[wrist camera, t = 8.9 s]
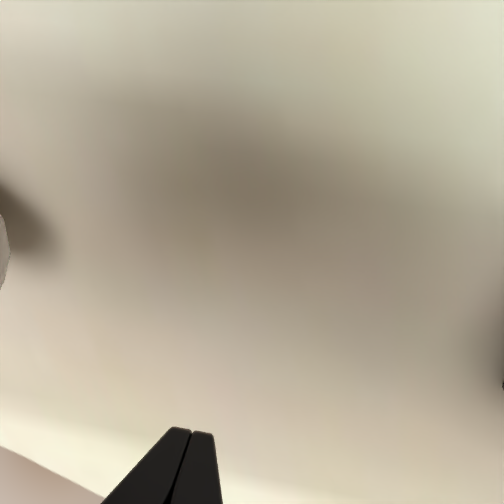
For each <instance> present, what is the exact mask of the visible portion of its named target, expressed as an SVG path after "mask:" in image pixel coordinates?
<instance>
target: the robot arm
mask: <svg viewBox="0 0 504 504" xmlns="http://www.w3.org/2000/svg"><path fill="white" fill-rule="evenodd" d="M502 387H503V390H504V383H503V386H502ZM101 504H223V501H222V494H221V486H220V479H219V472H218V464H217V457H216V449H215V442H214V436H213V435H212V434H211V433H206V432H201V431H194V432H193V433H192V431H191V430H189V429H185V428H180V427H171V428H170V429H169V430H168V431H167V432H166V433H165V434H164V435H163V436H162V437H161V438H160V440H159V441H158V442H157V443H156V444H155V445H154V446H153V447H152V448H151V449H150V450H149V452H148V453H147V454H146V455H145V456H144V457H143V458H142V459H141V460H140V461H139V462H138V464H137V465H136V466H135V467H134V468H133V469H132V470H131V471H130V472H129V473H128V474H127V476H126V477H125V478H124V479H123V480H122V481H121V482H120V483H119V484H118V485H117V486H116V488H115V489H114V490H113V491H112V492H111V493H110V494H109V495H108V496H107V497H106V498H105V500H104V501H103V502H102V503H101Z"/></svg>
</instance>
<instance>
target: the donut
mask: <svg viewBox="0 0 504 504" xmlns="http://www.w3.org/2000/svg"><path fill="white" fill-rule="evenodd" d="M9 258H10V246H9V241H8V236H7V231H6V227H5V222H4V219H3V217H2V216H1V214H0V289H1V287H2V285H3V283H4V280H5V276H6V271H7V267H8V263H9Z"/></svg>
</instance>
